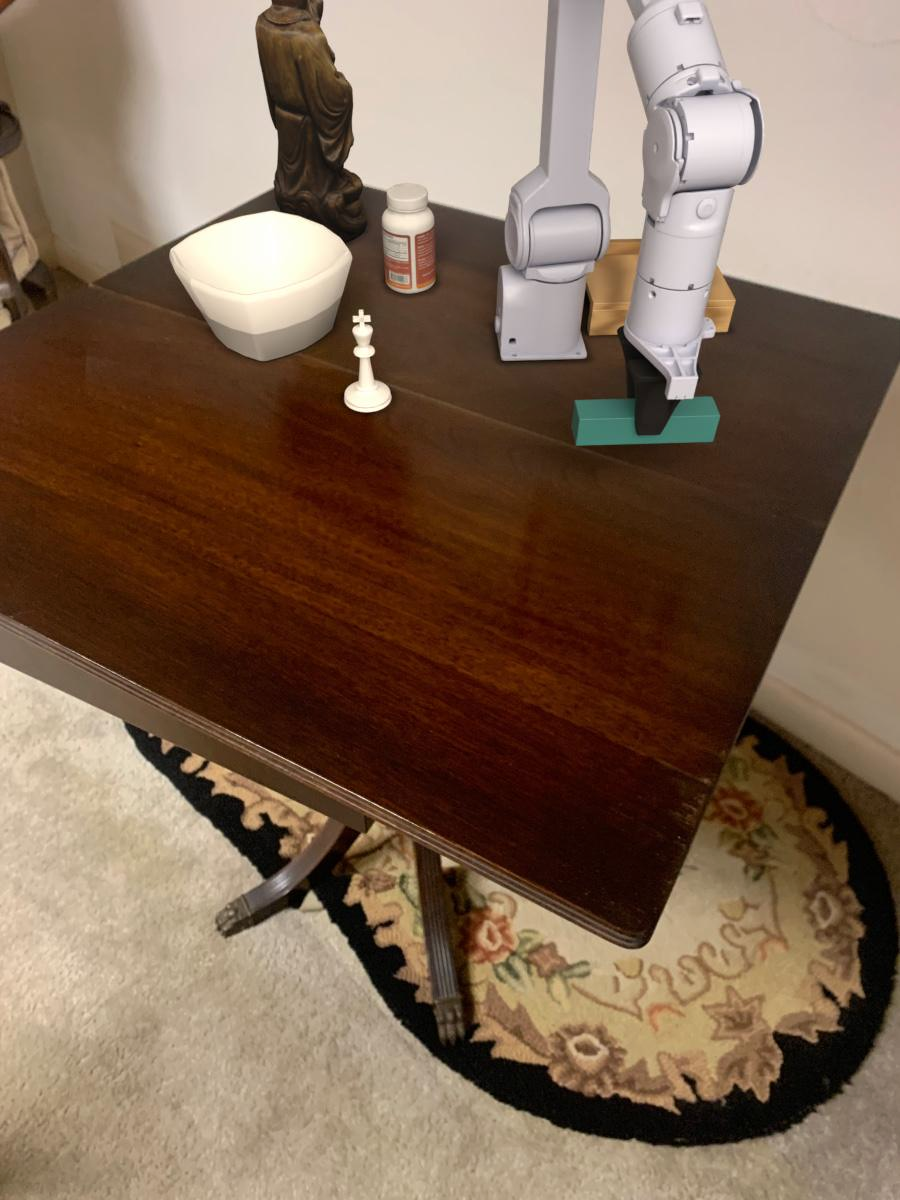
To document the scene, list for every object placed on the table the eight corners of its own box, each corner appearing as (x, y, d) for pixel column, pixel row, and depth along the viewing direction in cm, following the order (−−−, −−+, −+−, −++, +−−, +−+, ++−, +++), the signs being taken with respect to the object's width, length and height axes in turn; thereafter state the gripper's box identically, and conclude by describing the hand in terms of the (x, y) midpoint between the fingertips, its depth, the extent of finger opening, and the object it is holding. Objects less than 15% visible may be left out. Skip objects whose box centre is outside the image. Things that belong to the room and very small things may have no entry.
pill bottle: (430, 268, 111) (428, 177, 103) (440, 292, 107) (439, 200, 99) (381, 273, 110) (375, 182, 102) (389, 298, 106) (385, 205, 98)
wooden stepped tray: (588, 335, 101) (595, 290, 96) (573, 283, 109) (578, 239, 104) (727, 332, 101) (739, 287, 97) (701, 280, 109) (711, 236, 105)
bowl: (382, 330, 101) (377, 251, 94) (255, 393, 93) (240, 311, 86) (286, 275, 110) (276, 199, 103) (162, 328, 101) (141, 249, 94)
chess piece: (344, 386, 94) (335, 298, 86) (390, 383, 94) (385, 296, 87) (344, 413, 90) (335, 325, 83) (392, 411, 91) (387, 323, 83)
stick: (575, 446, 76) (579, 419, 74) (571, 426, 78) (574, 399, 76) (713, 442, 77) (720, 415, 75) (705, 422, 78) (712, 396, 76)
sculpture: (387, 233, 119) (391, -38, 98) (321, 260, 112) (310, -26, 91) (319, 207, 124) (310, -56, 103) (252, 231, 117) (227, -47, 96)
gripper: (755, 322, 61) (711, 473, 72) (704, 226, 71) (671, 371, 81) (654, 324, 61) (624, 476, 71) (617, 228, 71) (595, 373, 81)
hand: (644, 421), depth 76 cm, fingers closed on stick, 3 cm apart
